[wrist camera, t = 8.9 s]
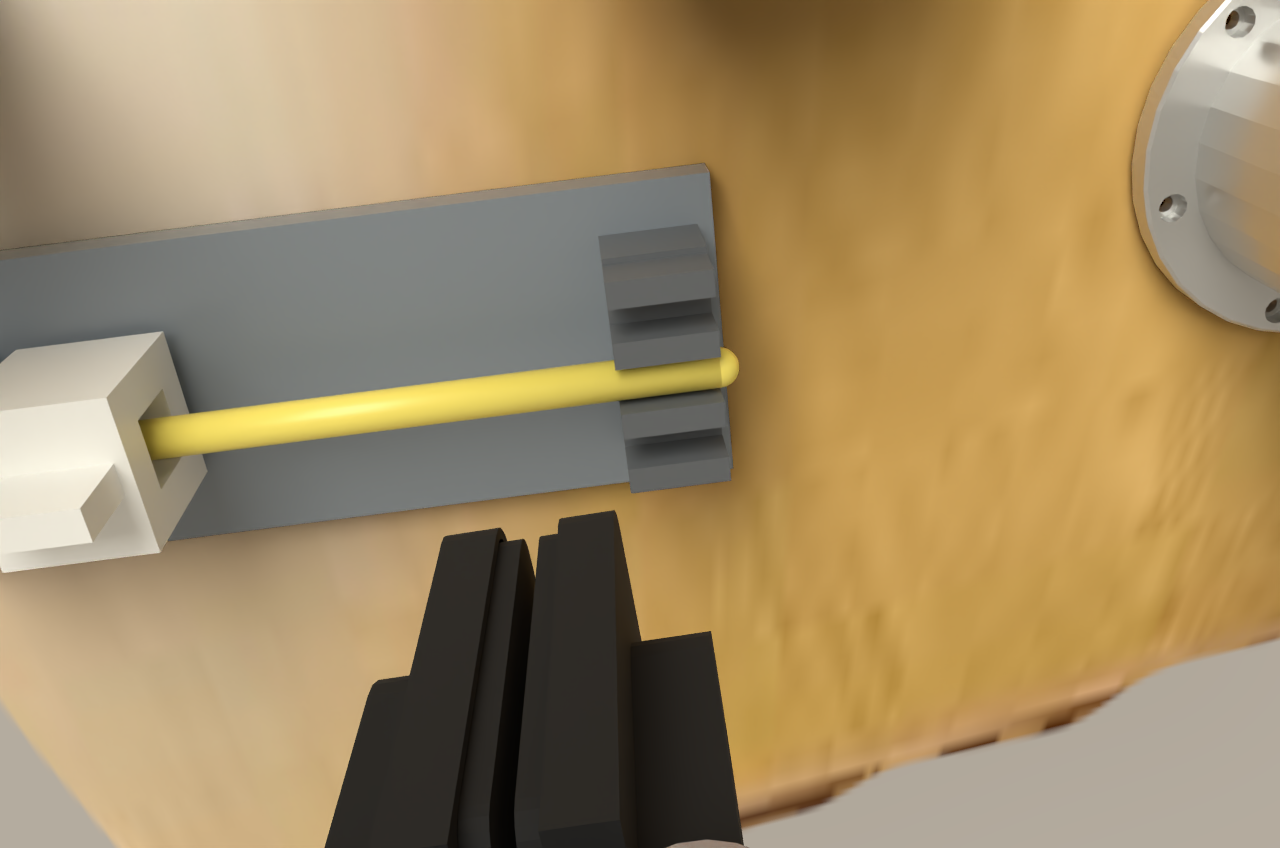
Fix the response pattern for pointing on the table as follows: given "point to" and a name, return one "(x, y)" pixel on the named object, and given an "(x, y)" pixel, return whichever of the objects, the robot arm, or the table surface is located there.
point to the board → (413, 337)
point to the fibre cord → (427, 405)
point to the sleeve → (88, 452)
